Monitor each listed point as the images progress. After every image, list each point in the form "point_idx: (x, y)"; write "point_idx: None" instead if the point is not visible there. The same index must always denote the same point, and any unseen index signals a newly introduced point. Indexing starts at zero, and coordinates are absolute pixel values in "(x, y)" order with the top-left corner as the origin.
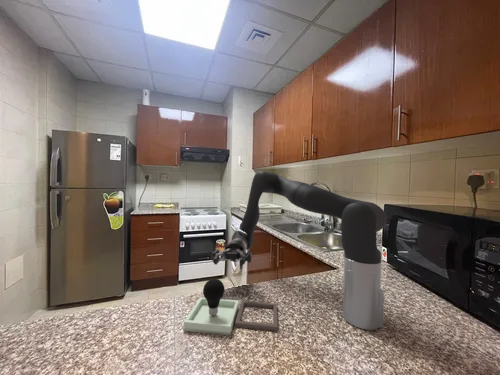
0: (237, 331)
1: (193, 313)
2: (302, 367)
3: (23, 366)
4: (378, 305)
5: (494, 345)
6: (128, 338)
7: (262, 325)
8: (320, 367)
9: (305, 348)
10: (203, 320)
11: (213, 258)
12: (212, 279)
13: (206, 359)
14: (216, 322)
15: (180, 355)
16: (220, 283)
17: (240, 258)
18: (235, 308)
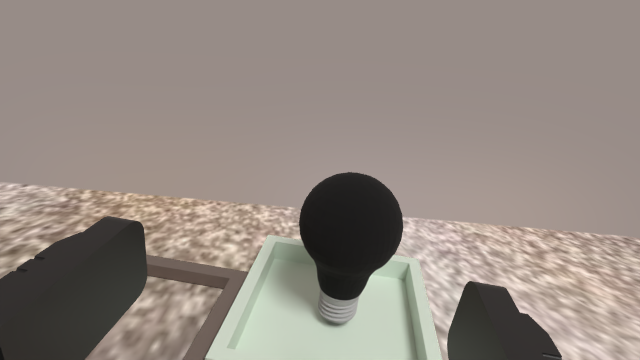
0: (242, 268)
1: (413, 301)
2: (129, 196)
3: (631, 240)
4: None
5: None
6: (535, 272)
7: (154, 256)
8: (92, 193)
9: (78, 217)
10: (364, 297)
11: (537, 325)
12: (367, 179)
13: None
14: (314, 288)
15: None
16: (322, 181)
17: (112, 235)
18: (238, 300)
